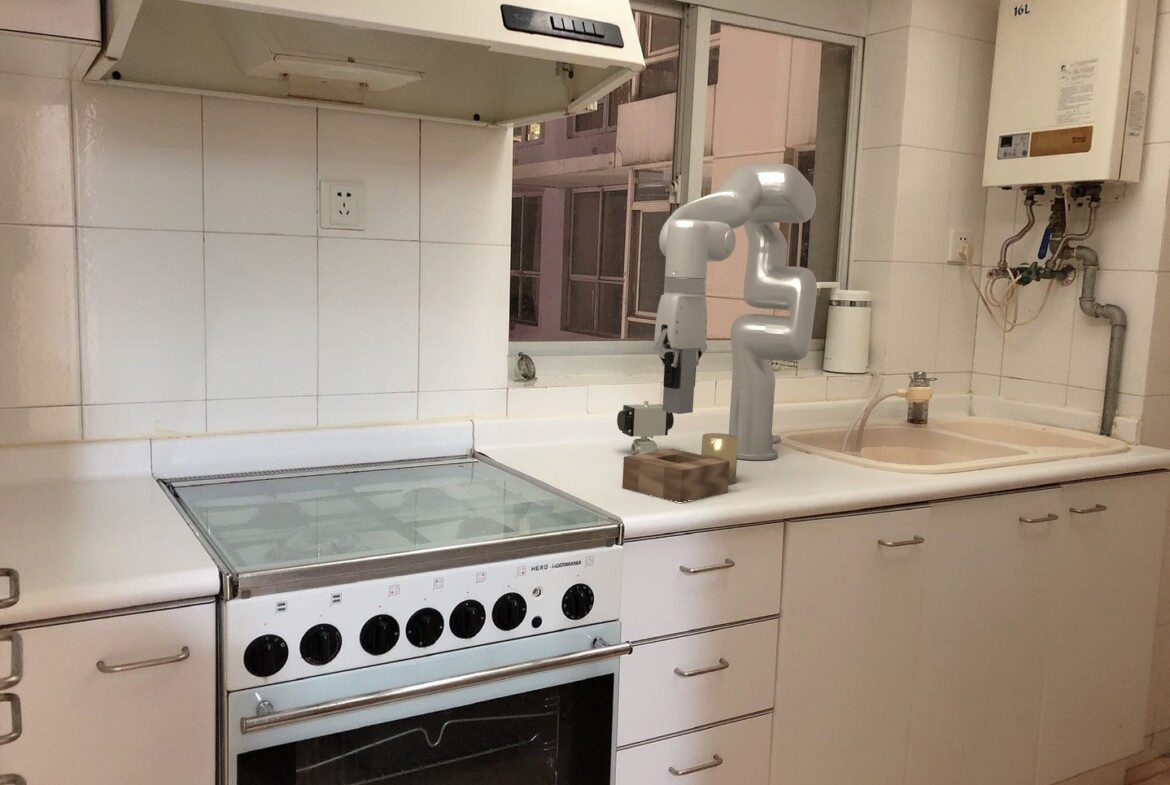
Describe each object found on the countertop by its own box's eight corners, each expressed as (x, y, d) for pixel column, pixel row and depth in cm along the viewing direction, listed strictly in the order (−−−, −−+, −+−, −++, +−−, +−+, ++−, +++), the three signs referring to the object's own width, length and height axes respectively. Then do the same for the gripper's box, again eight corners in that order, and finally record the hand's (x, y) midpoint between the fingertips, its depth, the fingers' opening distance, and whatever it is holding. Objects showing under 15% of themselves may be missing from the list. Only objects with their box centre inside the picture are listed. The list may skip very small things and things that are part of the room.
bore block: (670, 478, 194) (672, 448, 193) (727, 492, 184) (729, 461, 183) (622, 488, 184) (623, 456, 183) (679, 503, 174) (681, 470, 173)
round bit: (714, 475, 198) (717, 431, 197) (742, 482, 193) (745, 437, 192) (692, 480, 193) (695, 435, 192) (721, 487, 188) (724, 440, 187)
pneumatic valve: (672, 456, 216) (675, 402, 214) (623, 458, 211) (626, 403, 210) (661, 451, 221) (664, 398, 219) (613, 453, 217) (615, 399, 215)
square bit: (676, 409, 185) (679, 346, 184) (692, 412, 183) (696, 348, 181) (662, 411, 183) (665, 346, 181) (678, 414, 180) (682, 348, 178)
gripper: (697, 287, 188) (692, 382, 190) (638, 286, 176) (633, 387, 179) (729, 289, 183) (723, 387, 185) (670, 288, 171) (664, 392, 173)
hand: (679, 386), depth 182 cm, fingers closed on square bit, 4 cm apart
